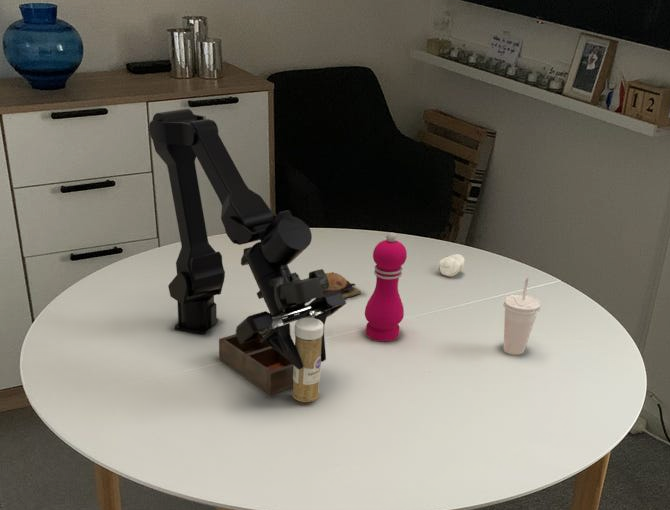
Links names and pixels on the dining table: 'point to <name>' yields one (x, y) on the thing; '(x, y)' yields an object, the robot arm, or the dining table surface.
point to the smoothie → (519, 320)
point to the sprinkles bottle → (308, 359)
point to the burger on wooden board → (340, 285)
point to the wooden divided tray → (257, 363)
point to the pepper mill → (386, 291)
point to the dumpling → (451, 265)
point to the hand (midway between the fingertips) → (312, 364)
